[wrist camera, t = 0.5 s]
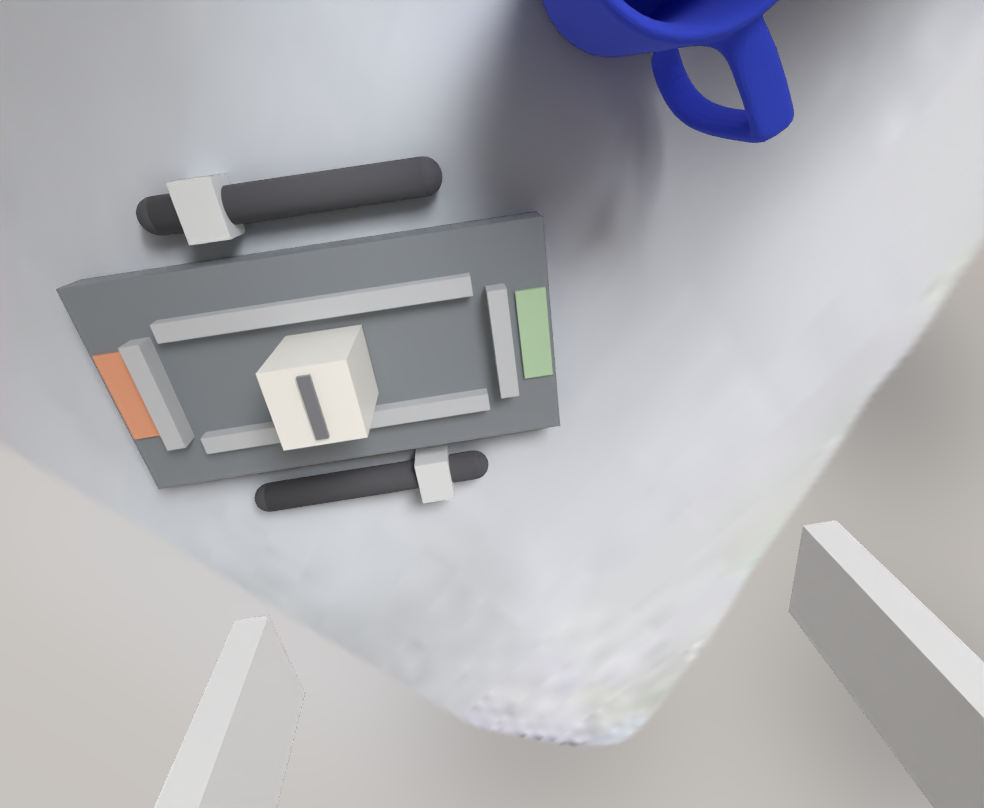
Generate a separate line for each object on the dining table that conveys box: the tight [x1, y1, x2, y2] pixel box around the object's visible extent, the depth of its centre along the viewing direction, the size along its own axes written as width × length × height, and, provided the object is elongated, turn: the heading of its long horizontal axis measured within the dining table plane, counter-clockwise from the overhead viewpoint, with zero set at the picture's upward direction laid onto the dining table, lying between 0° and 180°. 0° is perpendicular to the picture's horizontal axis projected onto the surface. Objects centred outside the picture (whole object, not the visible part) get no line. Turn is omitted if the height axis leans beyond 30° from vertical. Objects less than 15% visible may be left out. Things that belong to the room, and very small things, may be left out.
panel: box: [56, 212, 560, 489], centre depth 29 cm, size 12×24×3 cm, turn 97°
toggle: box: [256, 325, 379, 451], centre depth 26 cm, size 4×4×5 cm
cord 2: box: [255, 444, 488, 512], centre depth 33 cm, size 3×15×2 cm, turn 97°
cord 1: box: [136, 157, 442, 246], centre depth 26 cm, size 3×15×2 cm, turn 97°
